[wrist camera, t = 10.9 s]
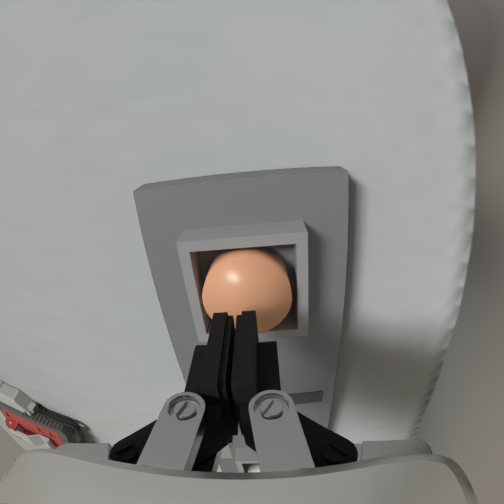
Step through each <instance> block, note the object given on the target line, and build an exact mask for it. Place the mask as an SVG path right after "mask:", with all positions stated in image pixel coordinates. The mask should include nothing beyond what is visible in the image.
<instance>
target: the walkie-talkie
mask: <svg viewBox="0 0 504 504" xmlns="http://www.w3.org/2000/svg"><path fill="white" fill-rule="evenodd" d="M0 410H1V412H2V413H3V414H4V416H5V417H6V418H7V419H6V425H7V426H8V428H9V429H10V430H11V431H12V433H13V434H14V435H15V436H17V437H19V438H21V439H23V440H24V441H26V442H28V443H30V444H32V445H41V444H45V445H46V446H47V447H48V448H49V449H57V448H58V447H59V446H60V445H62V444H66V443H87V441H86V440H85V438H84V437H83V435H82V433H81V432H80V427H79V426H78V425H77V424H76V423H75V422H74V421H73V420H72V419H70V418H69V417H68V416H65V415H61V414H58V413H57V412H54V411H51V410H48V409H46V408H43V407H41V406H38V405H37V403H36V402H35V401H34V400H33V399H31V398H30V397H29V396H28V395H26V394H25V393H24V392H23V391H21V390H19V389H17V388H14V387H12V386H10V385H8V384H6V383H4V382H3V381H1V380H0Z"/></svg>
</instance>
